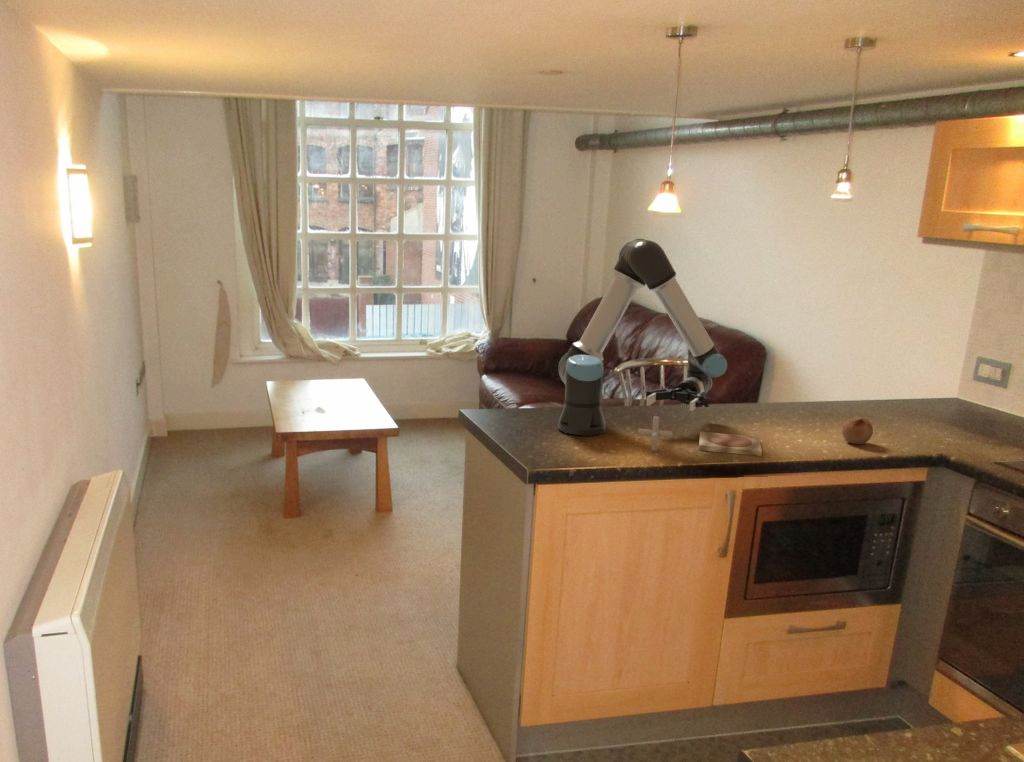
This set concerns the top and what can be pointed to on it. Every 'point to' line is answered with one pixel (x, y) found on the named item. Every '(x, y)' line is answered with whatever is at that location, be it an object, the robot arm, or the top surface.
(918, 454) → the top surface
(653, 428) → the grey toy jack
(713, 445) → the board
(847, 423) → the onion
